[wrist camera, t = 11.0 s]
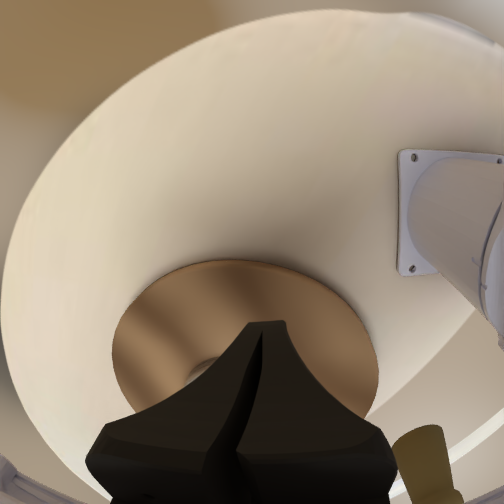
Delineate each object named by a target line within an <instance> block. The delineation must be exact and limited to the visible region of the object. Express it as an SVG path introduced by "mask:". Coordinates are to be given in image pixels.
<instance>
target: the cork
mask: <svg viewBox="0 0 504 504" xmlns="http://www.w3.org/2000/svg"><path fill="white" fill-rule="evenodd" d="M391 449H392V451H393V454H394V456H395V459H396V462H397V466H398V470H399V472H400V475H401V477H402V479H403V482H404V484H405V487H406V489H407V491H408V494H409V496H410V498H411V501H412V504H463V503H464V500H463V497H462V495H461V493H460V492H459V491H458V490H455V489H454V486H453V480H452V474H451V468H450V463H449V457H448V452H447V448H446V443H445V438H444V433H443V430H442V427H440V426H438V425H425V426H422V427H419V428H416V429H414V430H412V431H410V432H408V433H406V434H404V435H403V436H402V437H400V438H399V439H398V440H397V441H396V442H395V443H394V445H393V446H392V448H391Z"/></svg>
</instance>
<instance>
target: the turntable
mask: <svg viewBox="0 0 504 504" xmlns="http://www.w3.org/2000/svg"><path fill="white" fill-rule="evenodd" d="M275 320H284V321H285V322H286V326H287V331H288V334H289V336H290V339H291V341H292V343H293V345H294V347H295V349H296V350H297V352H298V354H299V356H300V357H301V359H302V360H303V362H304V363H305V365H306V366H307V368H308V369H309V370H310V372H311V373H312V374H313V375H314V377H315V378H316V379H317V380H318V381H319V382H320V383H321V385H322V386H323V387H324V388H325V389H326V390H327V391H328V392H329V393H330V394H332V395H333V396H334V397H335V398H336V399H337V400H338V401H340V402H341V403H342V404H343V405H344V406H345V407H347V408H348V409H350V410H351V411H352V412H354V413H355V414H356V415H358V416H359V417H361V418H363V419H364V418H365V417H366V415H367V413H368V412H369V410H370V408H371V406H372V404H373V401H374V399H375V396H376V392H377V387H378V375H379V369H378V363H377V357H376V354H375V351H374V349H373V346H372V343H371V341H370V338H369V335H368V333H367V330H366V329H365V327H364V325H363V324H362V322H361V320H360V319H359V317H358V316H357V315H356V313H355V312H354V311H353V310H352V309H351V307H350V306H349V305H348V304H347V303H346V302H345V301H343V300H342V299H341V298H340V297H339V296H338V295H337V294H335V293H334V292H333V291H331V290H330V289H328V288H327V287H325V286H324V285H322V284H321V283H319V282H318V281H315V280H313V279H311V278H309V277H307V276H305V275H303V274H301V273H299V272H296V271H293V270H290V269H287V268H283V267H280V266H277V265H272V264H267V263H262V262H257V261H244V260H221V261H210V262H205V263H199V264H194V265H191V266H187V267H184V268H181V269H178V270H176V271H173V272H171V273H169V274H167V275H165V276H163V277H161V278H160V279H158V280H157V281H156V282H154V283H153V284H151V285H150V286H148V287H147V288H146V289H145V290H144V291H143V292H142V293H141V294H140V295H139V296H138V297H137V298H136V299H135V300H134V302H133V303H132V304H131V305H130V306H129V307H128V308H127V310H126V311H125V313H124V314H123V316H122V317H121V319H120V321H119V323H118V326H117V328H116V330H115V334H114V339H113V344H112V360H113V368H114V372H115V375H116V379H117V382H118V384H119V386H120V388H121V391H122V393H123V394H124V396H125V398H126V399H127V401H128V403H129V404H130V405H131V407H132V408H133V409H134V411H135V412H136V413H138V412H140V411H143V410H145V409H147V408H149V407H151V406H153V405H155V404H157V403H159V402H161V401H163V400H165V399H166V398H168V397H170V396H171V395H173V394H174V393H176V392H177V391H179V390H181V389H182V388H183V387H184V384H185V382H186V380H187V377H188V375H189V373H190V372H191V371H192V369H193V368H194V367H196V366H197V365H198V364H200V363H201V362H203V361H205V360H207V359H210V358H213V357H218V356H221V355H222V354H223V352H224V351H225V350H226V349H227V348H228V347H229V345H230V344H231V343H232V342H233V341H234V340H235V338H236V337H237V336H238V335H239V333H240V332H241V331H242V329H243V328H244V327H245V326H246V324H247V323H248V322H260V321H275Z"/></svg>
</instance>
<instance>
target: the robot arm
mask: <svg viewBox="0 0 504 504" xmlns="http://www.w3.org/2000/svg"><path fill="white" fill-rule="evenodd" d="M412 154H415V155H416V160H415V161H414V162H413V161H412V160H411V155H412ZM497 160H499V164H497ZM398 169H399V242H398V262H397V271H398V273H399V274H400V275H401V276H404V277H406V276H417V275H427V274H437V273H441V274H442V275H443V276H444V277H445V278H446V279H447V280H448V281H449V282H450V283H451V284H452V285H453V286H454V287H455V288H456V289H457V290H458V291H459V292H460V293H461V294H462V295H463V296H464V297H465V298H466V299H467V300H468V301H469V302H470V303H471V304H472V305H473V306H474V307H475V308H476V309H477V310H478V311H479V312H480V313H481V314H482V315H483V316H484V317H485V318H486V319H487V320H488V321H489V322H490V324H491V325H492V326H493V327H494V328H495V329H496V331H497V332H498V336H499V342H498V344H499V346H500V347H501V349H502V350H503V351H504V155H495V154H485V153H474V152H460V151H444V150H420V149H403V150H401V151H400V152H399V154H398ZM412 265H414V268H413V269H412V270H411V271H409V268H410V266H412ZM85 463H86V466H87V468H88V470H89V472H90V473H91V474H92V476H93V477H94V478H95V479H96V480H97V481H98V482H99V484H100V485H101V486H102V487H103V488H104V489H105V490H106V491H107V492H108V493H109V494H110V495H111V496H112V497H113V498H112V501H111V503H110V504H390V501H389V494H388V493H389V491H390V489H391V487H392V485H393V482H394V480H395V478H396V476H397V470H398V466H397V462H396V459H395V456H394V454H393V451H392V449H391V447H390V445H389V443H388V441H387V439H386V438H385V436H384V434H383V432H382V431H381V429H380V428H378V427H377V426H375V425H373V424H371V423H370V422H368V421H366V420H364V419H363V418H361V417H359V416H358V415H356V414H355V413H354V412H352V411H351V410H350V409H348V408H347V407H345V406H344V405H343V404H342V403H341V402H340V401H338V400H337V399H336V398H335V397H334V396H333V395H332V394H330V393H329V392H328V391H327V390H326V389H325V388H324V387H323V386H322V385H321V383H320V382H319V381H318V380H317V379H316V378H315V377H314V375H313V374H312V373H311V372H310V370H309V369H308V368H307V366H306V365H305V363H304V362H303V360H302V359H301V357H300V356H299V354H298V352H297V350H296V349H295V347H294V345H293V343H292V341H291V339H290V336H289V334H288V331H287V326H286V322H285V321H284V320H275V321H260V322H248V323H247V324H246V326H245V327H244V328H243V329H242V331H241V332H240V333H239V335H238V336H237V337H236V338H235V340H234V341H233V342H232V343H231V344H230V345H229V347H228V348H227V349H226V350H225V351H224V352H223V354H222V355H221V356H220V357H219V358H218V359H217V360H216V361H215V362H214V363H213V364H212V365H211V366H210V367H209V368H208V369H207V370H206V371H204V372H203V373H202V374H201V375H200V376H198V377H197V378H196V379H195V380H193V381H192V382H191V383H189V384H188V385H187V386H185V387H184V388H182V389H181V390H179V391H177V392H176V393H174V394H173V395H171V396H170V397H168V398H166V399H165V400H163V401H161V402H159V403H157V404H155V405H153V406H151V407H149V408H147V409H145V410H143V411H140V412H138V413H136V414H133V415H130V416H128V417H125V418H122V419H119V420H116V421H113V422H110V423H107V424H105V426H104V427H103V429H102V430H101V432H100V434H99V435H98V437H97V439H96V440H95V442H94V444H93V446H92V447H91V449H90V451H89V453H88V454H87V456H86V459H85ZM0 504H87V503H84V502H81V501H79V500H77V499H74V498H72V497H69V496H67V495H65V494H62V493H60V492H58V491H56V490H54V489H52V488H49V487H47V486H45V485H43V484H41V483H39V482H37V481H35V480H33V479H32V478H30V477H28V476H26V475H24V474H22V473H21V472H19V471H17V469H16V468H15V467H14V465H13V464H12V463H11V462H10V461H9V460H8V459H7V458H6V457H5V456H3V455H2V454H0ZM463 504H504V485H503V486H501V487H499V488H497V489H495V490H493V491H491V492H489V493H487V494H484V495H482V496H480V497H478V498H475V499H473V500H471V501H468V502H466V503H463Z"/></svg>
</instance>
